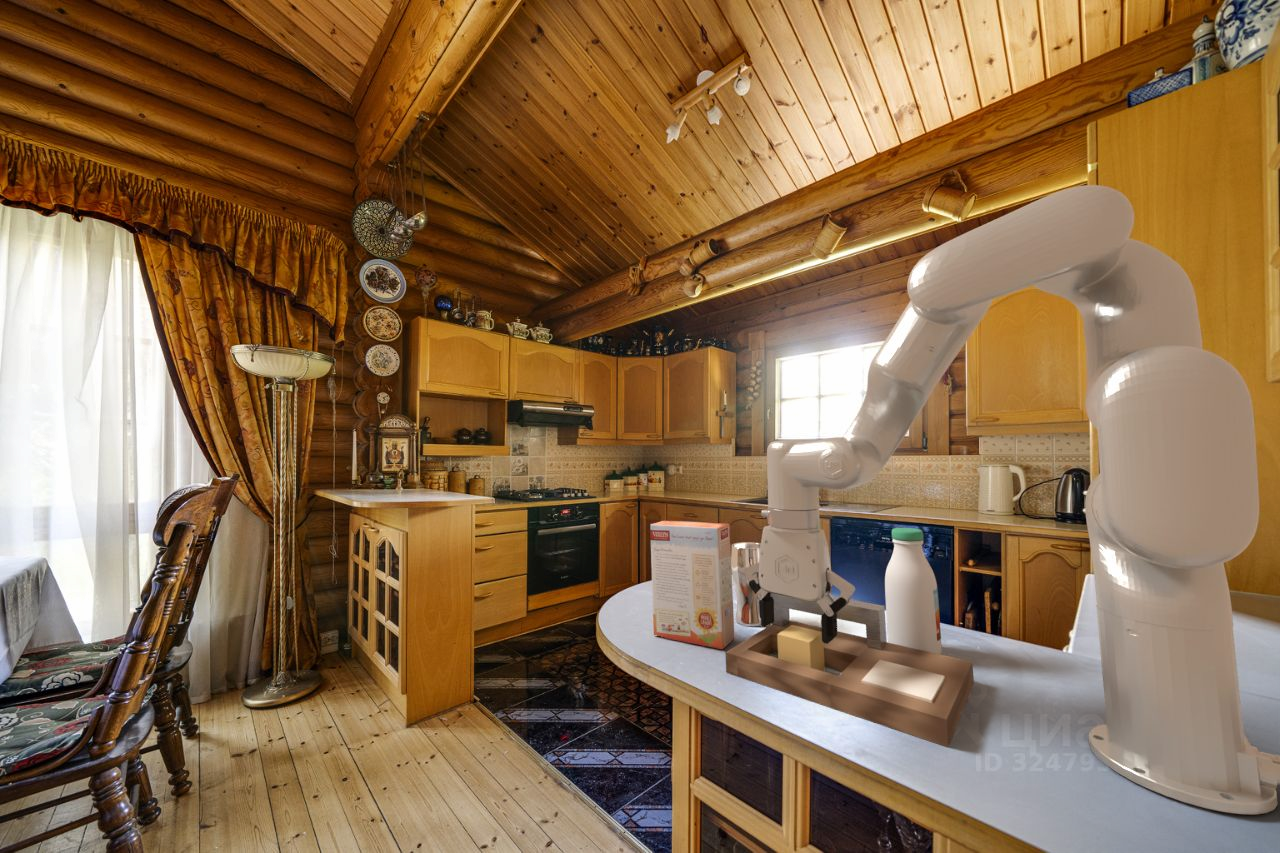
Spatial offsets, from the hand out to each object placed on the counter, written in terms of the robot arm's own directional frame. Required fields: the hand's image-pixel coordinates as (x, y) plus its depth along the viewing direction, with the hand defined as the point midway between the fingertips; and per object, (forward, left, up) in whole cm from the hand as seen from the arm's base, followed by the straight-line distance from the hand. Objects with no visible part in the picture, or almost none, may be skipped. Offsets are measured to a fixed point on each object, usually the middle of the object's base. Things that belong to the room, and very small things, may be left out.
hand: (796, 632), depth 72 cm
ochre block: (-1, 0, -6) cm, 6 cm away
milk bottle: (-12, -19, -6) cm, 23 cm away
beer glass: (+16, -15, -6) cm, 23 cm away
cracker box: (+20, -1, -6) cm, 21 cm away
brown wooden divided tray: (-6, -3, -6) cm, 9 cm away
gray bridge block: (-1, -10, -3) cm, 10 cm away
